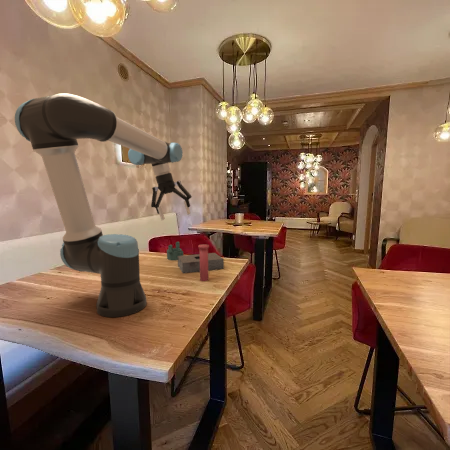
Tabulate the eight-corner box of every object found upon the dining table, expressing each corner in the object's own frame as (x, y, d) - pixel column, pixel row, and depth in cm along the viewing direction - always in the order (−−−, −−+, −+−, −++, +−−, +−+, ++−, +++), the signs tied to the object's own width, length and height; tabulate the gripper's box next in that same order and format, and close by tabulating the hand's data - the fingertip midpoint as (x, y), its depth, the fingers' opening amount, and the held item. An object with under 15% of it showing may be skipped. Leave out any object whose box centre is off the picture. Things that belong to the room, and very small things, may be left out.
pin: (200, 282, 108) (199, 246, 106) (198, 278, 112) (197, 244, 110) (210, 280, 109) (210, 246, 107) (207, 277, 113) (207, 244, 111)
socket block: (182, 273, 119) (182, 263, 119) (177, 265, 132) (177, 256, 132) (223, 269, 126) (223, 259, 125) (215, 261, 139) (214, 252, 138)
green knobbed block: (169, 261, 141) (168, 245, 140) (165, 257, 149) (165, 242, 148) (185, 259, 145) (184, 244, 144) (180, 256, 153) (180, 241, 152)
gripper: (189, 167, 123) (201, 209, 128) (142, 179, 127) (155, 220, 132) (185, 168, 115) (198, 213, 121) (135, 181, 120) (149, 224, 125)
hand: (176, 216), depth 126 cm, fingers open, 13 cm apart
